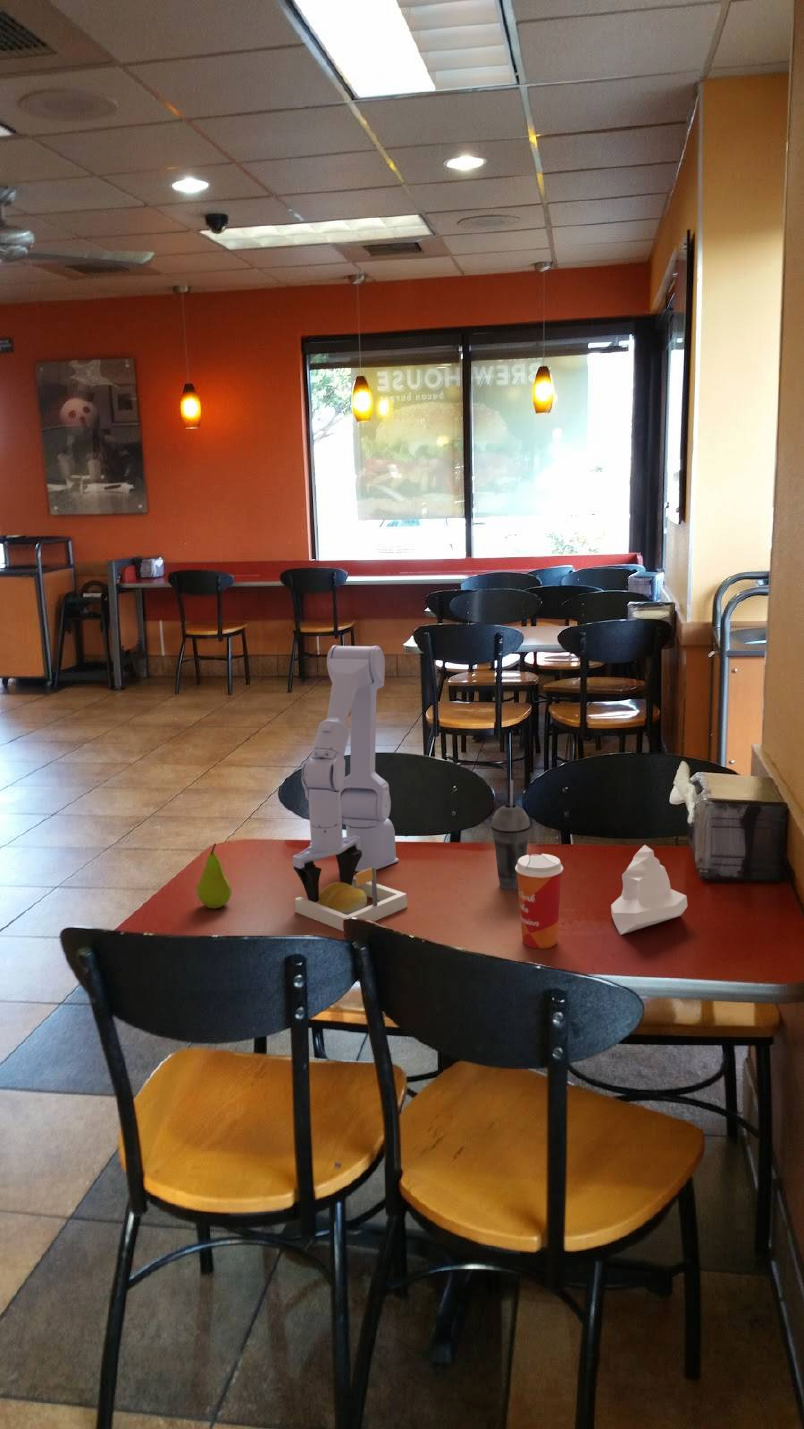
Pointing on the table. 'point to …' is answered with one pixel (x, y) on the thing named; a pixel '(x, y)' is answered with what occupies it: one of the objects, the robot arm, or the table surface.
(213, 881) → the fruit
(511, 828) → the beverage cup
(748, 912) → the table surface
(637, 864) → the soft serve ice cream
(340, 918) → the pocket
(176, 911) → the table surface
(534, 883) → the paper cup
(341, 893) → the bread roll
